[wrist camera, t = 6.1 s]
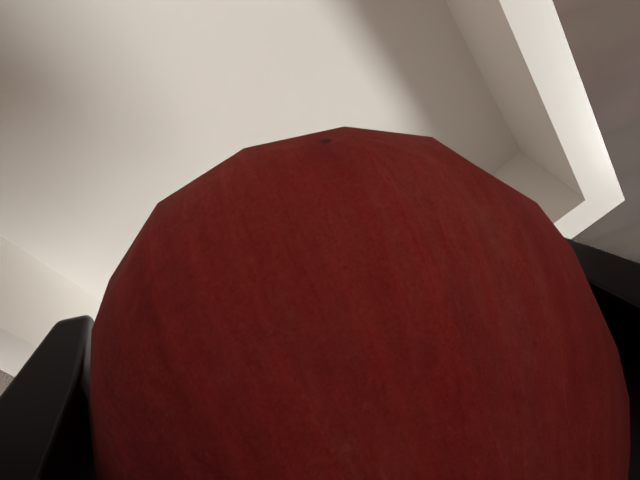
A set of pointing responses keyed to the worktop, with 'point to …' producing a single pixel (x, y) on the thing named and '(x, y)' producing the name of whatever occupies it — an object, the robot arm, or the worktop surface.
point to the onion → (353, 327)
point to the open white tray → (257, 116)
